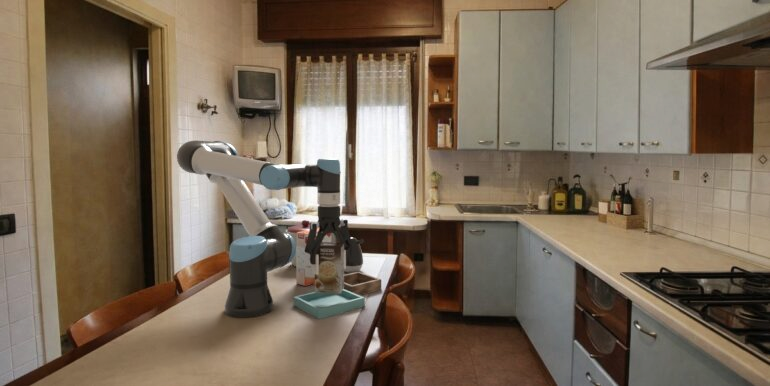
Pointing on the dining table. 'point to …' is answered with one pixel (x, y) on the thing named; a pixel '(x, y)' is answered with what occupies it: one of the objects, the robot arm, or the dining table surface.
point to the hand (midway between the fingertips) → (329, 270)
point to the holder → (361, 283)
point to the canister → (294, 230)
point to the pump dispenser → (354, 257)
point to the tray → (328, 303)
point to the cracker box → (305, 259)
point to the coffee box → (330, 268)
